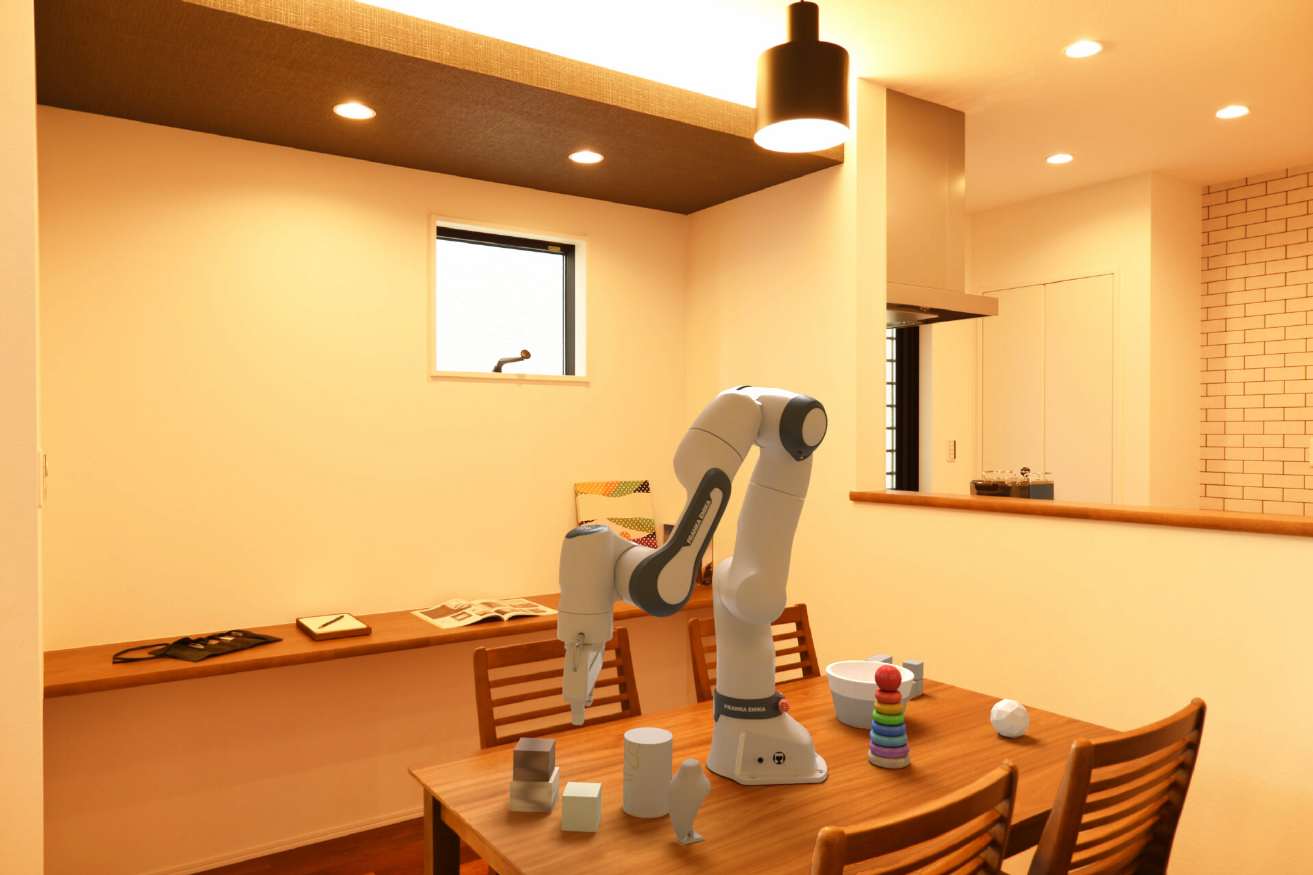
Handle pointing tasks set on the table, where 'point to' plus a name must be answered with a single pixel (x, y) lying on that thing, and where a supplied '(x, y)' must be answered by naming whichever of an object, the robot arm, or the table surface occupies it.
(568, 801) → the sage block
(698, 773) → the figurine
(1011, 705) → the geometric ball
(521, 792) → the maple base
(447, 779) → the table surface
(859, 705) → the bowl
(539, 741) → the walnut mid
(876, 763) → the stacking toy
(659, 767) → the white cylinder
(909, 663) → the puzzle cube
